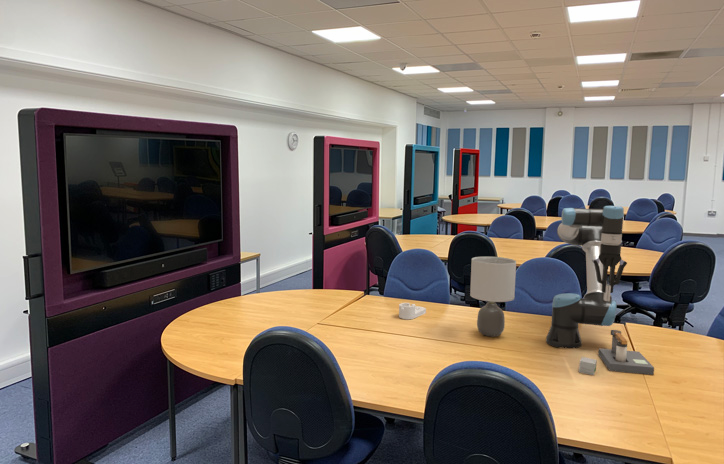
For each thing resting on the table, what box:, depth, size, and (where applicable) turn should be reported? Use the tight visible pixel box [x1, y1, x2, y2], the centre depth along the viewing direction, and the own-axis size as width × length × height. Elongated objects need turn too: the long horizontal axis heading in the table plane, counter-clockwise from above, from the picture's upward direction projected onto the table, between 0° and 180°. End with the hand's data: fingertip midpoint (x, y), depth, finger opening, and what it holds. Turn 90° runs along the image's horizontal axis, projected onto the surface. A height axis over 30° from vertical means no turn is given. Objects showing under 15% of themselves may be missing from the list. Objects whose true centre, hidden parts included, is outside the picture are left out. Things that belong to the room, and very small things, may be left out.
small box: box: [578, 356, 598, 376], centre depth 197 cm, size 6×6×5 cm
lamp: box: [469, 256, 517, 337], centre depth 240 cm, size 21×21×37 cm
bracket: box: [398, 302, 427, 320], centre depth 273 cm, size 20×9×7 cm, turn 143°
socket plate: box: [597, 335, 655, 376], centre depth 205 cm, size 16×18×10 cm
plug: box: [615, 341, 628, 362], centre depth 203 cm, size 4×4×10 cm
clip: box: [610, 329, 628, 345], centre depth 206 cm, size 4×14×2 cm, turn 168°
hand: (606, 300), depth 205 cm, fingers closed
